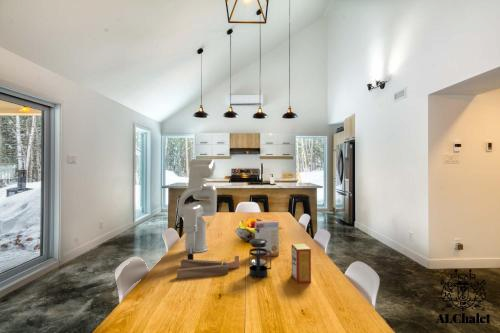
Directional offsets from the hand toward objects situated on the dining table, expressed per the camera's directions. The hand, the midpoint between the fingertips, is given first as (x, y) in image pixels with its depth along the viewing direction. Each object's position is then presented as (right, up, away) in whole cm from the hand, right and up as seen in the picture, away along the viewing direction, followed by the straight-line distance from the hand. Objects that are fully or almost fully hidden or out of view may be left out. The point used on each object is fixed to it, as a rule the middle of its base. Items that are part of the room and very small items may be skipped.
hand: (190, 261), depth 145 cm
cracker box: (+44, -2, +15) cm, 46 cm away
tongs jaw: (+7, -1, -7) cm, 10 cm away
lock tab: (+24, -1, -5) cm, 24 cm away
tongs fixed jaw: (+10, -1, -14) cm, 17 cm away
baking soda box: (+58, -1, -19) cm, 61 cm away
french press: (+38, -1, -14) cm, 41 cm away
